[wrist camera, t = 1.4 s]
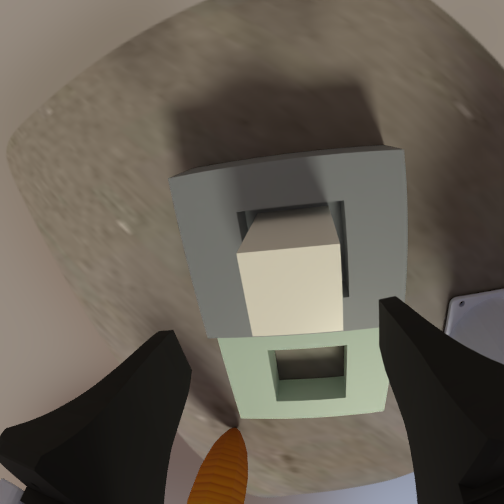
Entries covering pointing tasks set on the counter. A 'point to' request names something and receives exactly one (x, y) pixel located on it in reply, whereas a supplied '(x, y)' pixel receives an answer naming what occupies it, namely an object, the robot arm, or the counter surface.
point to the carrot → (222, 472)
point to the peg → (292, 273)
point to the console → (352, 267)
